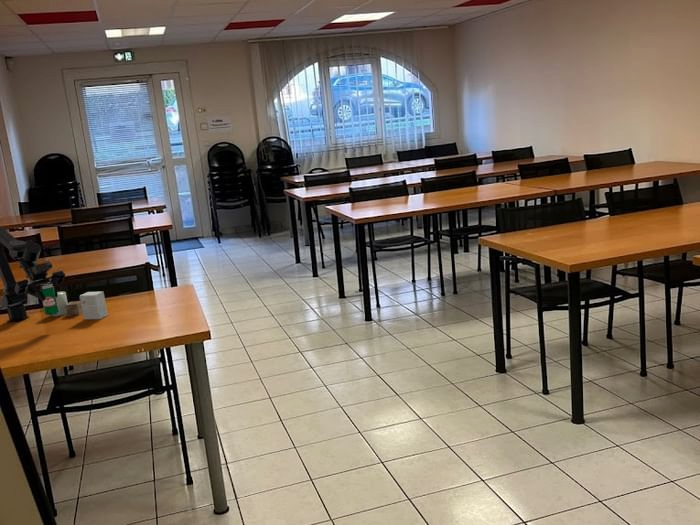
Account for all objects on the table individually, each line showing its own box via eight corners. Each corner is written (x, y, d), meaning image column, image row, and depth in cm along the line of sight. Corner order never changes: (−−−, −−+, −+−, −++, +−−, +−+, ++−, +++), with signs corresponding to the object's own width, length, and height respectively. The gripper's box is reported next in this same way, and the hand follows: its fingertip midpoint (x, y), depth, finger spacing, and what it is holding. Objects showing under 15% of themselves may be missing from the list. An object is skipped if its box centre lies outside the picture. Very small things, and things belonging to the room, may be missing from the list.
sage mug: (68, 314, 283) (64, 294, 281) (51, 317, 281) (47, 297, 279) (70, 309, 291) (66, 290, 289) (53, 312, 289) (49, 292, 287)
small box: (108, 315, 275) (104, 291, 273) (100, 319, 270) (95, 295, 268) (92, 315, 278) (87, 291, 275) (83, 319, 272) (79, 295, 270)
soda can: (44, 316, 257) (38, 287, 255) (46, 313, 262) (40, 284, 259) (57, 314, 258) (52, 285, 256) (59, 311, 263) (54, 282, 261)
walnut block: (67, 316, 280) (65, 305, 279) (71, 313, 285) (69, 302, 284) (79, 315, 280) (77, 304, 279) (83, 311, 285) (81, 300, 284)
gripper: (11, 261, 251) (30, 292, 246) (58, 250, 264) (77, 279, 260) (6, 279, 257) (25, 309, 253) (52, 268, 271) (71, 296, 267)
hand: (50, 298), depth 258 cm, fingers closed on soda can, 5 cm apart
